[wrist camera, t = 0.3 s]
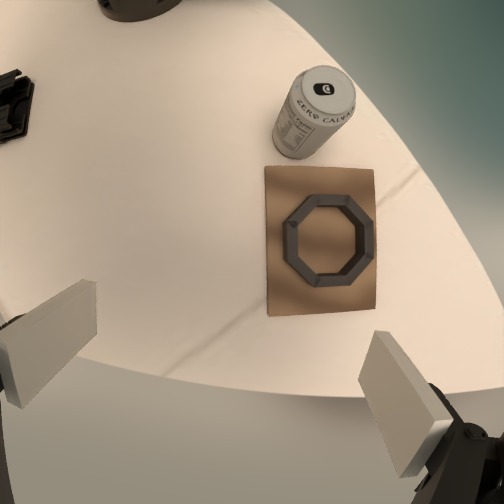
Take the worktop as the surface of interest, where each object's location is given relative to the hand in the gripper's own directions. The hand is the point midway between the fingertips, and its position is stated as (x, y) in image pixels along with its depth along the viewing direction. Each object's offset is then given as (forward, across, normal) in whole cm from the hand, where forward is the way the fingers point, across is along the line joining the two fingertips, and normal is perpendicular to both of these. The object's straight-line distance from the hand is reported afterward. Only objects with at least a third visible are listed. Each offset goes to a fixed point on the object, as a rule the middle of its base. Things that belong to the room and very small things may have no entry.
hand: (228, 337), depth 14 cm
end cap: (+26, -39, +14) cm, 49 cm away
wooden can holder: (+27, +9, +1) cm, 28 cm away
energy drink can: (+29, +3, +13) cm, 32 cm away
